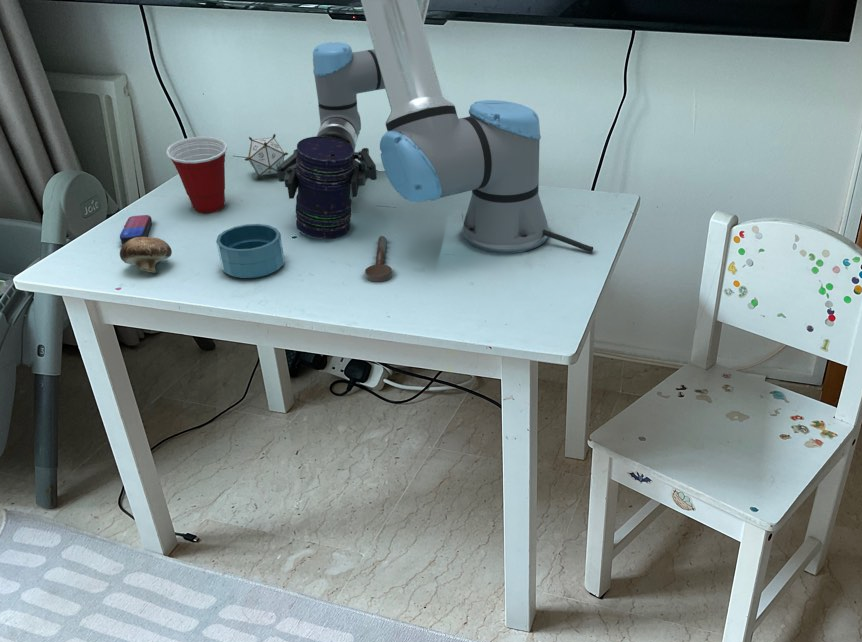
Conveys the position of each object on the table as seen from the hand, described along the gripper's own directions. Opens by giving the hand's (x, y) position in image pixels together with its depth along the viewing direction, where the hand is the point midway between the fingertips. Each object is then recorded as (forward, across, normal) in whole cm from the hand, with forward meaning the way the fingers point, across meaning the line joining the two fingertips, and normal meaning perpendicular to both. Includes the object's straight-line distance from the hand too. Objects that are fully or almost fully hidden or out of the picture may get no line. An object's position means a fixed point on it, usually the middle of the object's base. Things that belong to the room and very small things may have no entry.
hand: (322, 190), depth 152 cm
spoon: (+8, -10, -10) cm, 16 cm away
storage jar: (-6, +2, -10) cm, 12 cm away
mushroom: (+7, +29, -10) cm, 32 cm away
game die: (-33, +16, -10) cm, 38 cm away
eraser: (-6, +35, -10) cm, 37 cm away
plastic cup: (-18, +25, -10) cm, 32 cm away
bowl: (+8, +12, -10) cm, 17 cm away
